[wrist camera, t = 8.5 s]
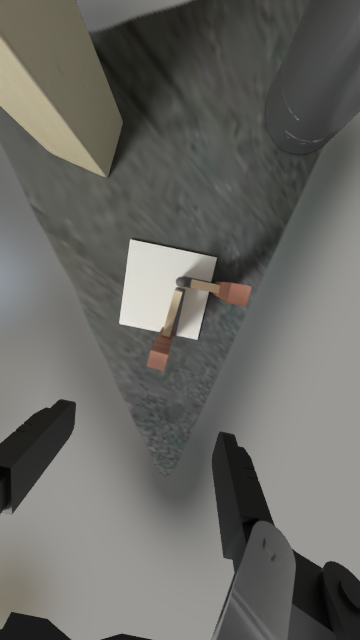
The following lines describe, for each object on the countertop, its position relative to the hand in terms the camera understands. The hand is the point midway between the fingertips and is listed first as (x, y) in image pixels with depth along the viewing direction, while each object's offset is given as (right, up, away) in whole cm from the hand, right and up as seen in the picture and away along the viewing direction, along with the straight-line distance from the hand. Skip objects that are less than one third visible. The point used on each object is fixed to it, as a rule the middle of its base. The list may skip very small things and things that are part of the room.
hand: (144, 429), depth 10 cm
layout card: (0, +10, +16) cm, 19 cm away
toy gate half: (+1, +7, +16) cm, 18 cm away
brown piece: (+5, +11, +16) cm, 20 cm away
